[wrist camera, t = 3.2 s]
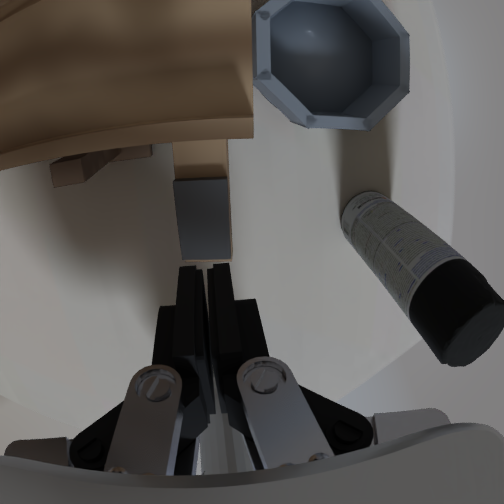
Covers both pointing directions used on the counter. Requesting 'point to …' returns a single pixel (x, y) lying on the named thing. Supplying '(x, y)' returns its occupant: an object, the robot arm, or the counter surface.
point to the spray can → (425, 279)
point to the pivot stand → (92, 163)
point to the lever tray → (133, 93)
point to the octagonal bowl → (330, 61)
